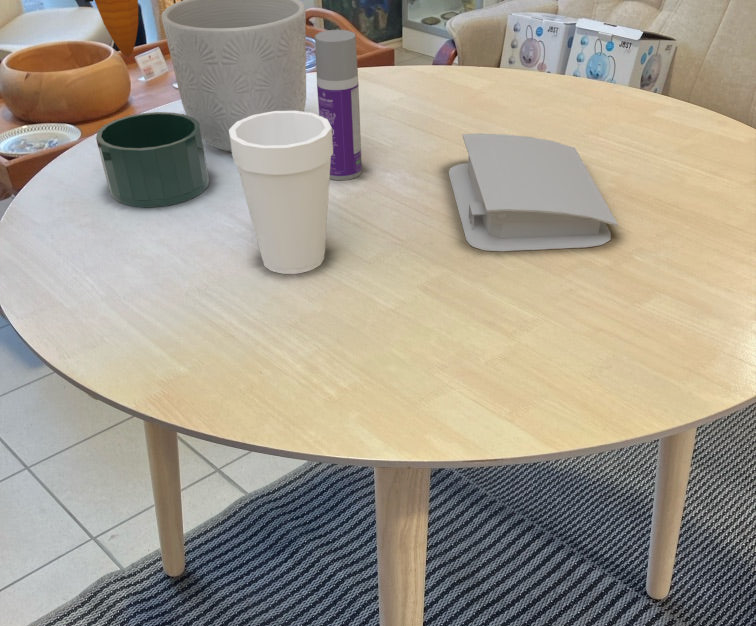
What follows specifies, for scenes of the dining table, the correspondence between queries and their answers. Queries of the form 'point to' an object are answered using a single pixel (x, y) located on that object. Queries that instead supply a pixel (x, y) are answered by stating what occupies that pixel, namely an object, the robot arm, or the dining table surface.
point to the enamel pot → (153, 159)
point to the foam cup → (286, 185)
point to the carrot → (120, 22)
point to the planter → (236, 60)
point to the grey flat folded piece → (527, 195)
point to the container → (340, 99)
